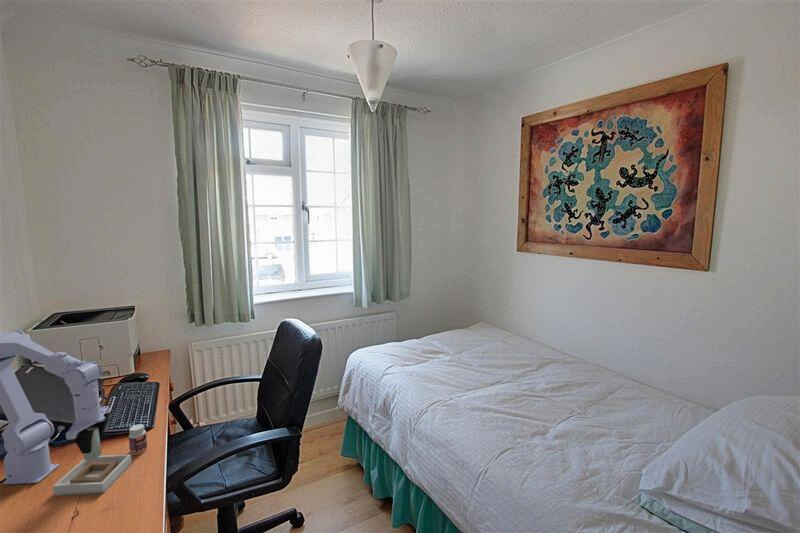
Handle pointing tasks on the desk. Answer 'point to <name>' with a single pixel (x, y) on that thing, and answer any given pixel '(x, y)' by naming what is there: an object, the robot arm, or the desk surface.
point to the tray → (92, 475)
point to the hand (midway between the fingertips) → (92, 447)
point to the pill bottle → (137, 439)
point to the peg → (94, 445)
